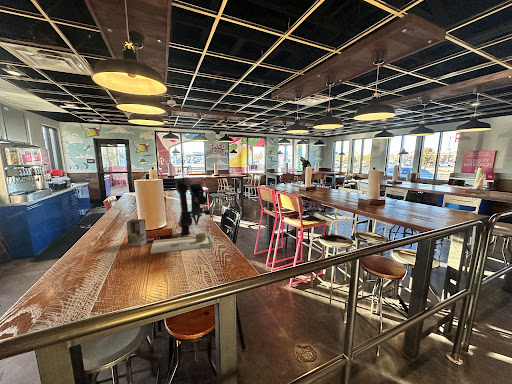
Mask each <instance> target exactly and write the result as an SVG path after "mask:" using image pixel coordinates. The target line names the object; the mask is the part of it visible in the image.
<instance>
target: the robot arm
mask: <svg viewBox="0 0 512 384" xmlns="http://www.w3.org/2000/svg"><path fill="white" fill-rule="evenodd" d="M174 187H175V189H176V192H177V194H178V195H179V200H180V210H181V212H180V216H179V220H178V223H177V224H178V227H179V228H181V230H180V231H181V232H180V236H187V235H190V234H191V232H190V231H191V230H190V226H192V225H193V221H194V224H195V226H198V224H199V220H200V219H201V217H202V216H203V214H205V216H211V214H212V213H211V209H209V208H205V209H204V207H201V206H203V205H205V204H206V203H207V201H208V200H207V199H208V198H207V197H206V196H205V191H204V188H203V186H202V185H201V183H198V182H194V181H193V180H191V179H190V178H189V177H187V176H186V177H181V178H180V179H179V180H177V181H176V183H175V184H174ZM188 191H189V192H190V193H189V194H190V196H191V197H190V199H191V201H190V202H191V204H190V205H191V211H189V207H188V199H187V192H188Z"/></svg>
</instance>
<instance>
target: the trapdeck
mask: <svg viewBox="0 0 512 384" xmlns="http://www.w3.org/2000/svg"><path fill="white" fill-rule="evenodd" d="M211 247H213V239H212V236H211V234H208V235H206V234H205V241H204V242H196V235H195V236H187V237H177V238H169V239H168V238H167V239H156V240H152V245H151V248H150V255H151V254H159V253H166V252H168V253H169V252H176V251H184V250H185V251H186V250H193V249H202V248H211Z"/></svg>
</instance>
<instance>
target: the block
mask: <svg viewBox="0 0 512 384" xmlns="http://www.w3.org/2000/svg"><path fill="white" fill-rule="evenodd" d="M205 235H206V233H203V232H198V233H197V234H196V235H195V236H196V242H204V241H205Z"/></svg>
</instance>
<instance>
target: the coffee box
mask: <svg viewBox="0 0 512 384" xmlns="http://www.w3.org/2000/svg"><path fill="white" fill-rule="evenodd" d="M146 226H147V225H146V219H145V218H143V219H142V218H133V219H129V220H128V221H127V220H126V231H127V233H126V234H127V241H128V242H127V244H128V246H133V247H134V246H137V247H138V246H139V247H142V246H144V245H145V244H146V243H147V242H148V241H147V228H146Z"/></svg>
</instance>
